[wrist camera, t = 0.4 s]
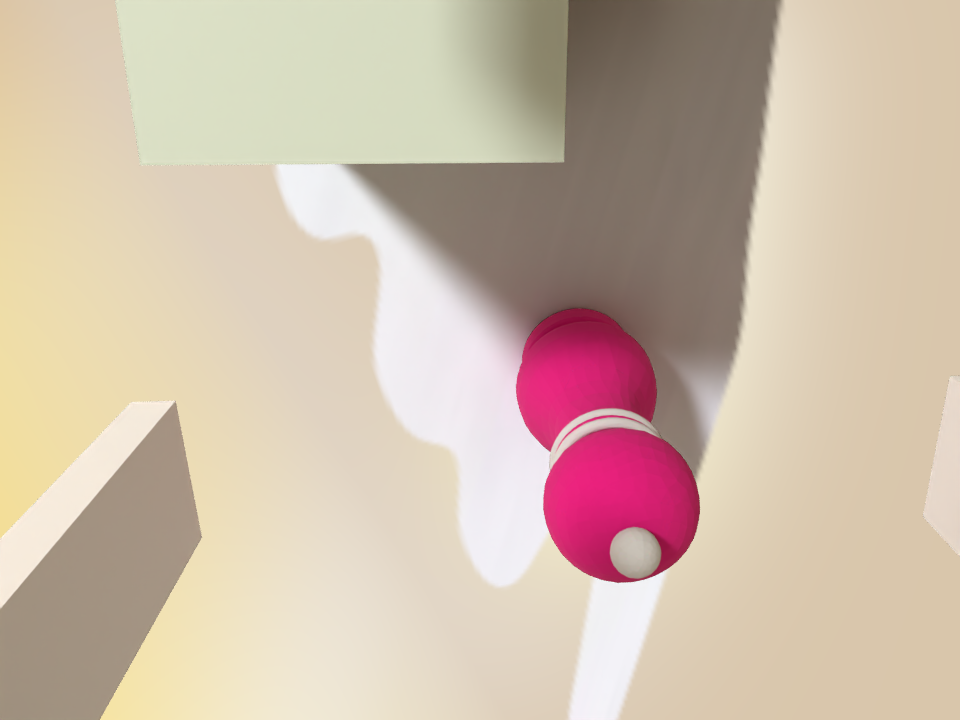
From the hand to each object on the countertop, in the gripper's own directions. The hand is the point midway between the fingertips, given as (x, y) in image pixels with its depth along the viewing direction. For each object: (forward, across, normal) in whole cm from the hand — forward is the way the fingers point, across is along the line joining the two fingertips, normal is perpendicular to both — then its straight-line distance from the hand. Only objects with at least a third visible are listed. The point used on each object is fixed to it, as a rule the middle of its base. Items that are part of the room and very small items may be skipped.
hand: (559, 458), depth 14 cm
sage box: (+31, -5, +7) cm, 32 cm away
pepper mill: (+31, +4, -11) cm, 33 cm away
